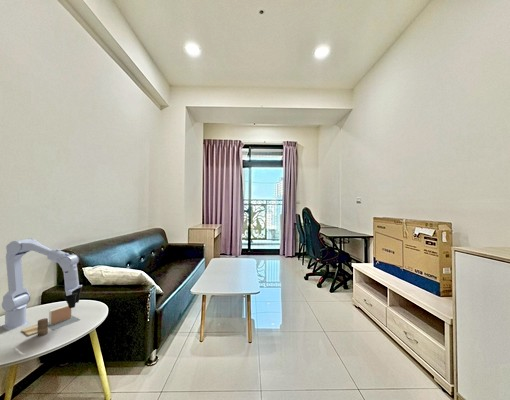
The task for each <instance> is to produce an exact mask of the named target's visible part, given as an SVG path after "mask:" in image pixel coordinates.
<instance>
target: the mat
mask: <svg viewBox="0 0 510 400" xmlns="http://www.w3.org/2000/svg"><path fill="white" fill-rule="evenodd" d="M79 321H81V319H80V318H78V317H76V316H74V315H72V314H71V318H69V319H67V320H64V321H61V322H58V323H55V324H53V325H49V321H48V329H51V330H52V331H54V330H55V331H56V330H58V329H60V328H63V327H65V326H69V325H71V324H74V323H76V322H79Z"/></svg>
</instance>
